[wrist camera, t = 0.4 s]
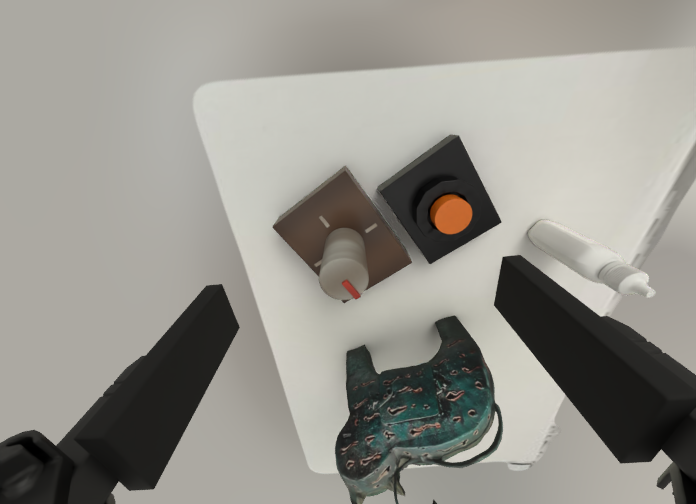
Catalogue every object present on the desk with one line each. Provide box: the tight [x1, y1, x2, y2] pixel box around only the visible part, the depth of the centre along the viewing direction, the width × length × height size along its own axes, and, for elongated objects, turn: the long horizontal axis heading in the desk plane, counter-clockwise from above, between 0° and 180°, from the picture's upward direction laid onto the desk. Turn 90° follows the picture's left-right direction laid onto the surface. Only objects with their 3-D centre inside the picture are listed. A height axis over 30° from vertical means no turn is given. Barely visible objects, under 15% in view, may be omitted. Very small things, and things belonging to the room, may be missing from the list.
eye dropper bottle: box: [528, 220, 656, 297], centre depth 26 cm, size 4×6×12 cm
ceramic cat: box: [335, 316, 503, 504], centre depth 30 cm, size 20×6×20 cm, turn 115°
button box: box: [378, 135, 501, 264], centre depth 28 cm, size 11×9×4 cm
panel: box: [273, 166, 412, 303], centre depth 30 cm, size 13×10×3 cm
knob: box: [319, 228, 369, 300], centre depth 25 cm, size 4×4×7 cm
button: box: [430, 194, 472, 234], centre depth 25 cm, size 4×4×2 cm
